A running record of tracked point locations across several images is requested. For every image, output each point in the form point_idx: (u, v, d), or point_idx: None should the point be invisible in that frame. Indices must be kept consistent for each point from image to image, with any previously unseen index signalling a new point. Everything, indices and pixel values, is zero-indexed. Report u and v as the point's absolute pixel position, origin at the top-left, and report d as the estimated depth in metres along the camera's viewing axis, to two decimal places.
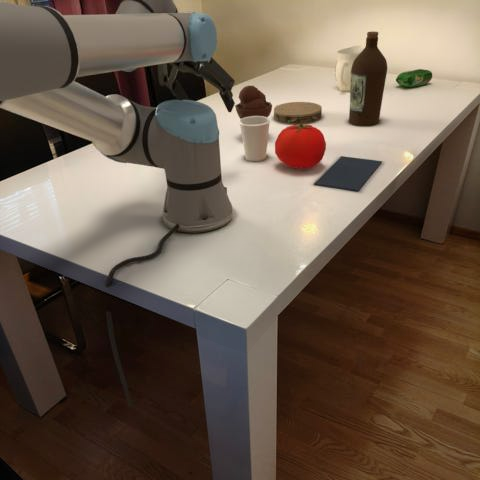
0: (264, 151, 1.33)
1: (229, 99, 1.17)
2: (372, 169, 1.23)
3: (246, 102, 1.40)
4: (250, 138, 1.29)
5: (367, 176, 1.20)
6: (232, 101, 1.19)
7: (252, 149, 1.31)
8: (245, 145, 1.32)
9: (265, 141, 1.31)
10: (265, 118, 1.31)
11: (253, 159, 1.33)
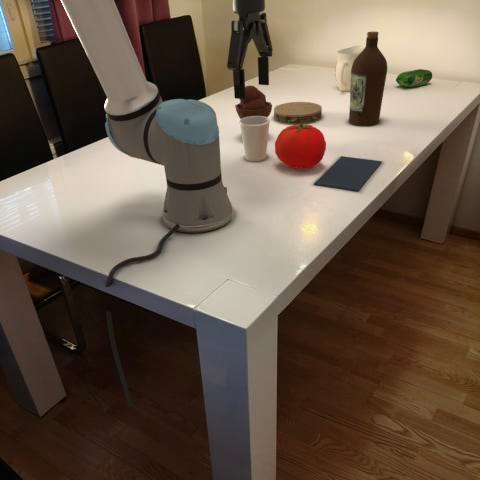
0: (264, 151, 1.33)
1: None
2: (372, 169, 1.23)
3: (246, 102, 1.40)
4: (250, 138, 1.29)
5: (367, 176, 1.20)
6: (242, 93, 1.19)
7: (252, 149, 1.31)
8: (245, 145, 1.32)
9: (265, 141, 1.31)
10: (265, 118, 1.31)
11: (253, 159, 1.33)
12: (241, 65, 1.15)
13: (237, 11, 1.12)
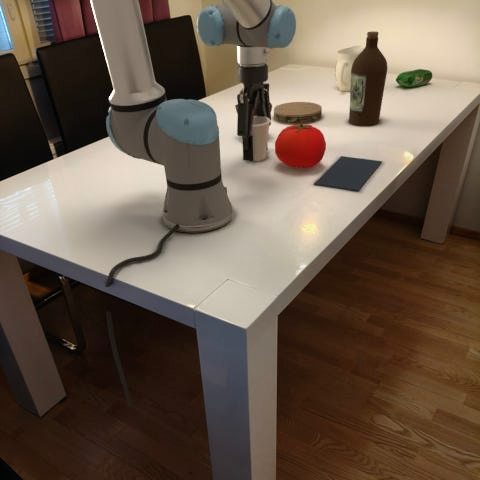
0: (264, 151, 1.33)
1: None
2: (372, 169, 1.23)
3: None
4: None
5: (367, 176, 1.20)
6: (250, 156, 1.31)
7: None
8: None
9: (265, 141, 1.31)
10: (265, 118, 1.31)
11: (253, 159, 1.33)
12: (250, 132, 1.26)
13: (242, 81, 1.21)
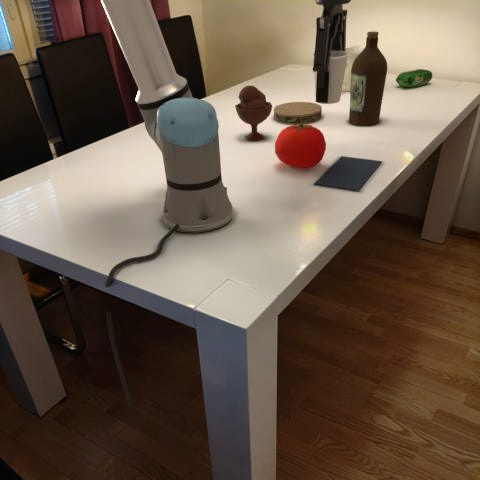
0: (339, 92, 1.13)
1: None
2: (372, 169, 1.23)
3: (246, 102, 1.40)
4: None
5: (367, 176, 1.20)
6: (325, 97, 1.11)
7: None
8: None
9: (342, 79, 1.11)
10: (341, 52, 1.12)
11: None
12: (327, 66, 1.07)
13: (322, 2, 1.02)
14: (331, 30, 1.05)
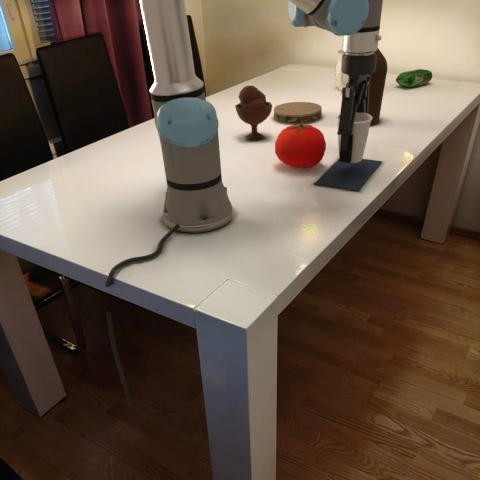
0: (362, 152, 1.18)
1: None
2: (372, 169, 1.23)
3: (246, 102, 1.40)
4: None
5: (367, 176, 1.20)
6: (348, 157, 1.16)
7: None
8: None
9: (365, 140, 1.16)
10: (365, 114, 1.16)
11: None
12: (351, 131, 1.12)
13: (348, 72, 1.06)
14: (356, 97, 1.10)
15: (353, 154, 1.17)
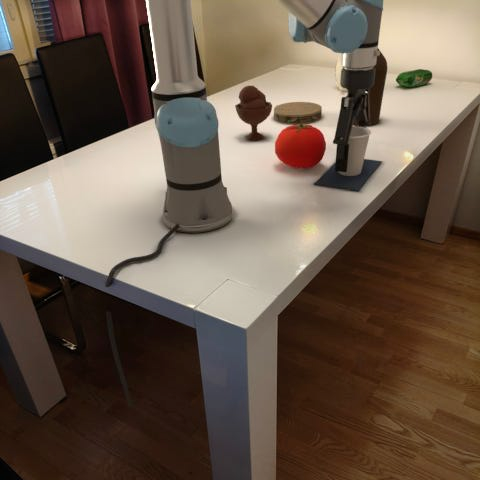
0: (361, 165, 1.20)
1: None
2: (372, 169, 1.23)
3: (246, 102, 1.40)
4: (349, 151, 1.16)
5: (367, 176, 1.20)
6: (344, 167, 1.15)
7: (349, 163, 1.18)
8: None
9: (364, 154, 1.18)
10: (363, 129, 1.18)
11: (348, 174, 1.20)
12: (347, 140, 1.11)
13: (347, 86, 1.08)
14: None
15: (352, 167, 1.19)
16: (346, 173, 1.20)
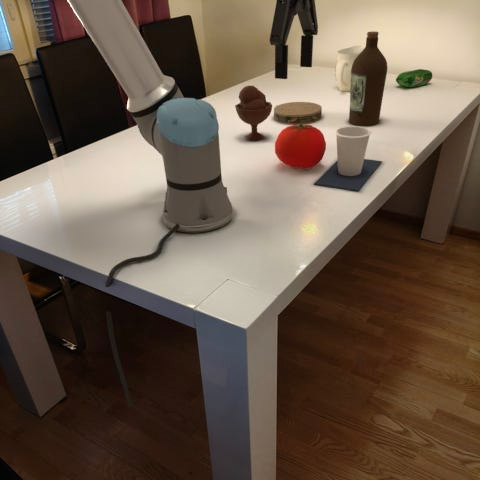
0: (361, 165, 1.20)
1: None
2: (372, 169, 1.23)
3: (246, 102, 1.40)
4: (349, 151, 1.16)
5: (367, 176, 1.20)
6: (283, 72, 1.07)
7: (349, 163, 1.18)
8: (341, 158, 1.19)
9: (364, 154, 1.18)
10: (363, 129, 1.18)
11: (348, 174, 1.20)
12: (285, 40, 1.02)
13: None
14: None
15: (352, 167, 1.19)
16: (346, 173, 1.20)
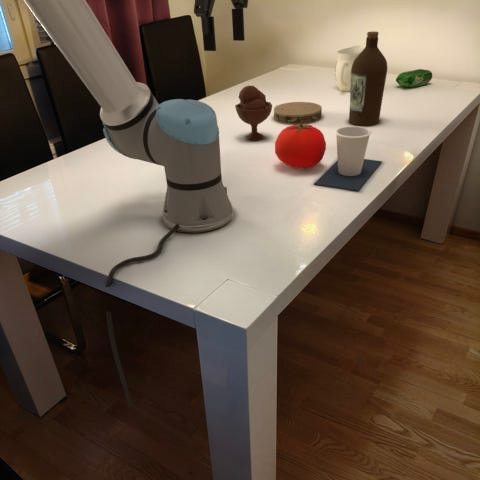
0: (361, 165, 1.20)
1: None
2: (372, 169, 1.23)
3: (246, 102, 1.40)
4: (349, 151, 1.16)
5: (367, 176, 1.20)
6: (212, 44, 1.08)
7: (349, 163, 1.18)
8: (341, 158, 1.19)
9: (364, 154, 1.18)
10: (363, 129, 1.18)
11: (348, 174, 1.20)
12: (210, 11, 1.03)
13: None
14: None
15: (352, 167, 1.19)
16: (346, 173, 1.20)
